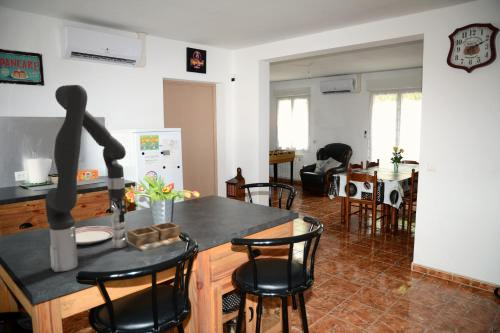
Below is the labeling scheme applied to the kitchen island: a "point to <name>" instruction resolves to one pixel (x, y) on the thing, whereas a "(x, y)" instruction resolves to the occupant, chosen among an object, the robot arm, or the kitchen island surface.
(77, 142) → the robot arm
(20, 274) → the kitchen island surface
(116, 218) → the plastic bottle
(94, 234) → the dinner plate
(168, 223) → the socket board
